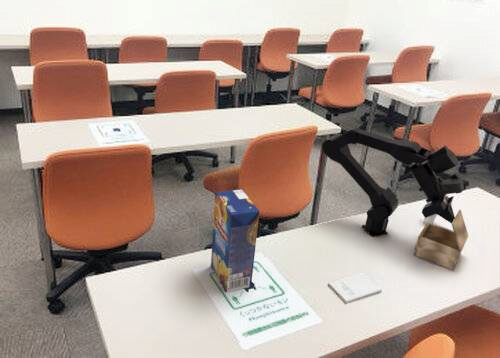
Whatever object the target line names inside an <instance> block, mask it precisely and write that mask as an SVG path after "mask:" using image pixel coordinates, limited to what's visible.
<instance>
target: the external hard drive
mask: <svg viewBox="0 0 500 358" xmlns="http://www.w3.org/2000/svg"><path fill="white" fill-rule="evenodd" d="M327 286H328V287H329V288H330V289H331V290H332V291H333V292H334V293H336V294H337V296H338V297H339V298H340V299H341V301H342V302H343V303H344V304H350V303H352V302H355V301H356V302H357V301H359V300H361V299H365V298H368V297H371V296H374V295H376V294H380V293H382V289H381V287H380V286H379V285H378V284H377V283H375V282H374V281H373V279H371V278H370V277H369V276H368V275H367V274H366V273H364V272H361V273H360V272H359V273H357V274H353V275H350V276H346V277H345V278H344V277H343V278H340V279H338V280H333V281H330V282H327Z"/></svg>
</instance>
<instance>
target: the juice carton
mask: <svg viewBox="0 0 500 358" xmlns="http://www.w3.org/2000/svg"><path fill="white" fill-rule="evenodd" d="M214 194H215V195H214V206H213V207H214V208H213V209H214V211H213V224H212V238H211V239H212V241H211V258H210V259H211V260H210V267H211V269H212V270H213V272H214V274H215V276H216V278H217V280H218V282H219V284H220V285H221V288H222V289H223V290H224V292H225V293H228V292H233V291H238V290H241V289H242V290H243V289H248V288H251V287H252V281H253V280H252V279H253V274H254V273H253V271H254V264H255V262H254V261H255V255H256V254H255V253H256V248H257V247H256V246H257V245H256V244H257V236H258V227H259V219H260V210H259V208H258V207H257V206H256V205H255V204H254V202H253V201H252V199H250V197H249V196H248V195H247V194H246V193H245V191H244V190H243V189H242V188H240V189H238V188H237V189H231V190H230V189H229V190H222V191H215V192H214Z"/></svg>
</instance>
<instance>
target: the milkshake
mask: <svg viewBox="0 0 500 358" xmlns="http://www.w3.org/2000/svg"><path fill="white" fill-rule="evenodd" d="M429 203H430V202H429ZM426 204H428V203H427V202H426ZM437 216H438V215H437V214H434V215H432V216H429V217H427V218H425V217H424V216H423V217H424V218H423V224H424V225H426V224H427V222H429V223H431V224H435V223H434V222H435V220H436V217H437Z"/></svg>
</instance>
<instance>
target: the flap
mask: <svg viewBox="0 0 500 358" xmlns="http://www.w3.org/2000/svg"><path fill="white" fill-rule="evenodd" d="M454 216H455V218H454V220H453V222H452V224H451V227H452V230H453V231H454V234H455V237H456V240H457V244H458V247H459V250H460V251H461V252H463V249H464V247H465V245H466V242H467V239H468V238H469V232H468V230H467V226H466V223H465V220H464V219H465V218H464V216H463V212H462V209H458V211H457V212H456V215H454Z"/></svg>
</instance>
